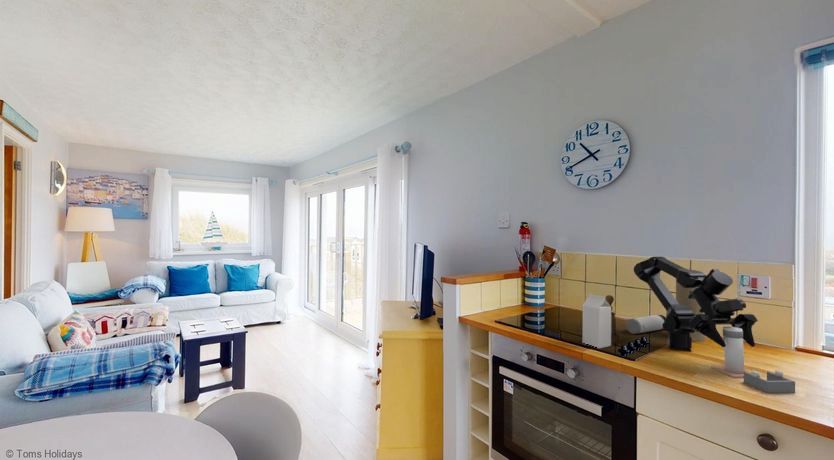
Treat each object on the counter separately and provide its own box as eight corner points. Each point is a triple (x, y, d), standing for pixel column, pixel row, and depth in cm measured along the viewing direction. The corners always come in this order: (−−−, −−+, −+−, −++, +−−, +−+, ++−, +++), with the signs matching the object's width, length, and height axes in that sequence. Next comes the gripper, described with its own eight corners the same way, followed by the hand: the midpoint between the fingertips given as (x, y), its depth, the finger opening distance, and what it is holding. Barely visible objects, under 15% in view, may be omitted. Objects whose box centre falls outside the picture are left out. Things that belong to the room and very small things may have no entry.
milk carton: (598, 349, 135) (599, 297, 135) (582, 343, 141) (582, 294, 141) (611, 346, 138) (611, 296, 138) (594, 341, 144) (594, 293, 144)
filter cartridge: (720, 368, 115) (718, 326, 116) (735, 367, 116) (733, 326, 116) (734, 373, 111) (732, 330, 111) (749, 373, 111) (747, 329, 111)
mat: (711, 367, 117) (711, 366, 117) (735, 367, 117) (735, 365, 117) (734, 378, 109) (734, 376, 109) (759, 377, 109) (759, 376, 109)
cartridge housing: (742, 382, 106) (742, 367, 106) (770, 381, 106) (770, 367, 106) (766, 393, 99) (766, 377, 99) (796, 392, 99) (796, 377, 99)
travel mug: (642, 330, 150) (673, 325, 158) (633, 316, 154) (663, 311, 162) (631, 337, 155) (661, 331, 163) (622, 322, 158) (652, 318, 167)
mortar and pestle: (600, 341, 143) (600, 296, 143) (599, 337, 149) (599, 293, 149) (619, 344, 141) (620, 297, 141) (617, 339, 147) (617, 294, 147)
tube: (671, 337, 150) (672, 276, 149) (680, 332, 156) (680, 274, 156) (701, 343, 142) (702, 279, 141) (709, 338, 148) (709, 277, 148)
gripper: (696, 289, 116) (726, 333, 105) (752, 288, 117) (788, 333, 106) (677, 308, 124) (703, 351, 113) (730, 307, 125) (761, 350, 114)
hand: (739, 346), depth 112 cm, fingers open, 9 cm apart
